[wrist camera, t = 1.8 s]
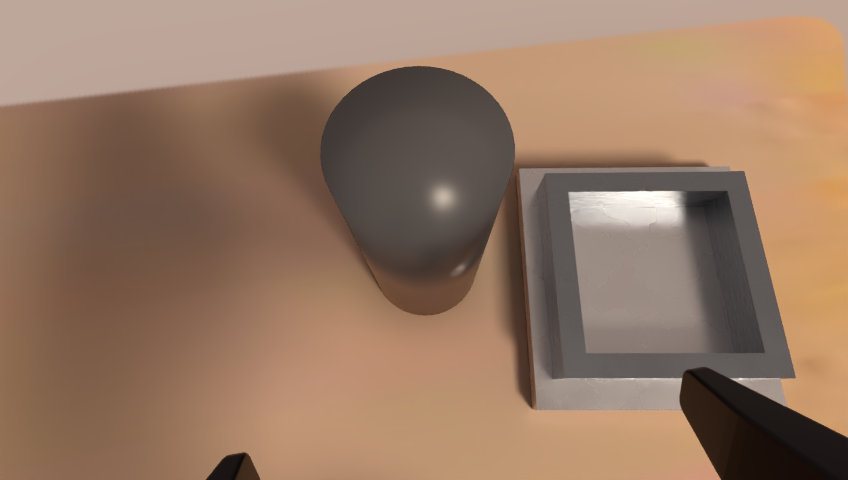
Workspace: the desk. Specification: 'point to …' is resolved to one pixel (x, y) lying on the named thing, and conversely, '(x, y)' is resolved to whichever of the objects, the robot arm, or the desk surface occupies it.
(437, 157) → the grey domed cylinder
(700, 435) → the robot arm
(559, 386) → the square tray
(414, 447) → the desk surface
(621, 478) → the desk surface
